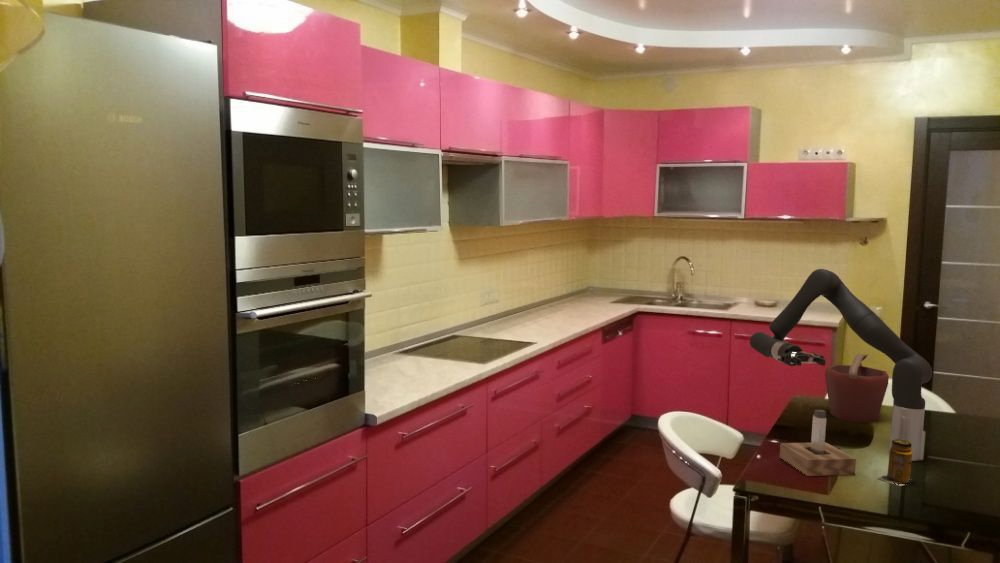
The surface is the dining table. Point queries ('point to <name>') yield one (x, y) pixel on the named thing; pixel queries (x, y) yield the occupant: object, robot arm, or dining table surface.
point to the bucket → (855, 391)
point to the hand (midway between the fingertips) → (812, 362)
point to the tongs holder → (817, 460)
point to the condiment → (899, 462)
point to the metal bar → (818, 432)
